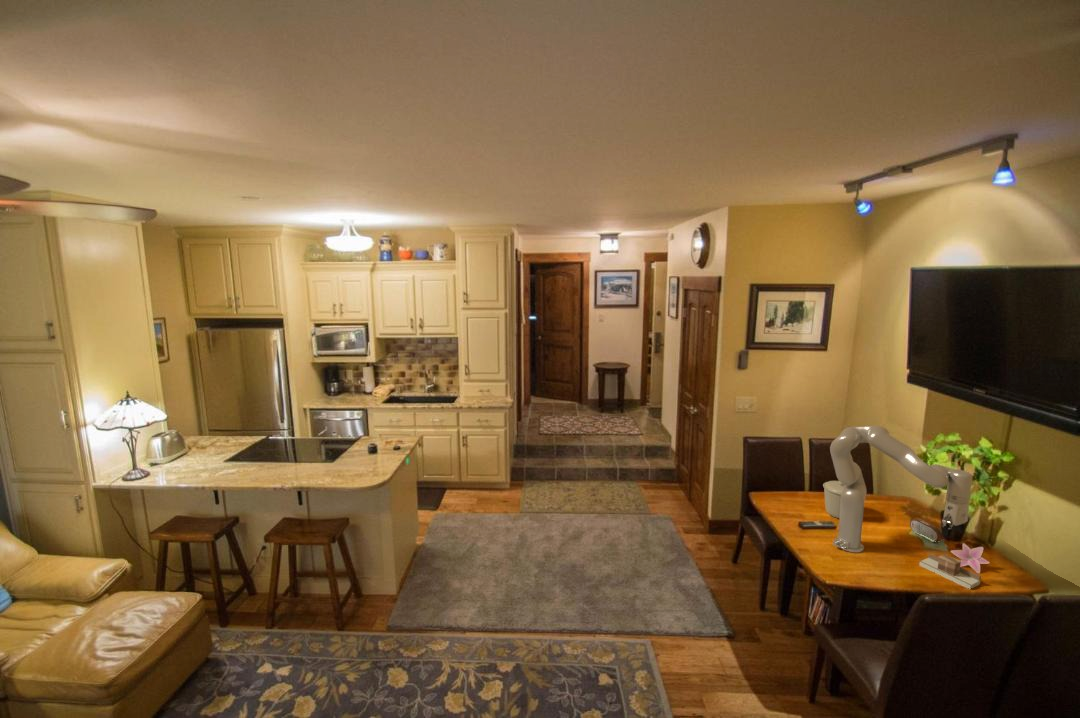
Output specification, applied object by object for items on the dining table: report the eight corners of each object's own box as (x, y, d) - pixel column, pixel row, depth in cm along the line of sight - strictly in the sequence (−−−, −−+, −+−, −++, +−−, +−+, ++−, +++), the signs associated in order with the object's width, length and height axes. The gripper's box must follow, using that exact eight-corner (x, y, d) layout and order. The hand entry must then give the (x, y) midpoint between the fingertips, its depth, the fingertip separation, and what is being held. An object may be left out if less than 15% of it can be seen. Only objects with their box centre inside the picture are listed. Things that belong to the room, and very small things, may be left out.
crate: (953, 576, 203) (955, 563, 202) (937, 568, 209) (938, 556, 208) (959, 573, 205) (961, 561, 204) (943, 565, 211) (944, 553, 210)
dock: (969, 589, 197) (971, 581, 197) (919, 565, 215) (920, 557, 214) (979, 584, 201) (981, 576, 200) (929, 560, 218) (930, 553, 217)
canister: (866, 518, 257) (869, 483, 253) (843, 525, 250) (847, 489, 247) (835, 504, 273) (837, 471, 270) (813, 511, 267) (816, 477, 263)
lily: (945, 559, 220) (948, 548, 215) (965, 548, 221) (968, 537, 216) (972, 581, 210) (976, 570, 205) (993, 568, 211) (997, 557, 206)
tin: (942, 545, 230) (944, 529, 229) (937, 545, 230) (939, 530, 228) (912, 529, 245) (914, 515, 243) (907, 530, 244) (909, 515, 243)
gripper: (957, 505, 195) (951, 542, 198) (979, 497, 201) (973, 533, 204) (936, 498, 201) (931, 534, 204) (958, 490, 208) (953, 525, 211)
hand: (952, 533), depth 204 cm, fingers open, 9 cm apart
